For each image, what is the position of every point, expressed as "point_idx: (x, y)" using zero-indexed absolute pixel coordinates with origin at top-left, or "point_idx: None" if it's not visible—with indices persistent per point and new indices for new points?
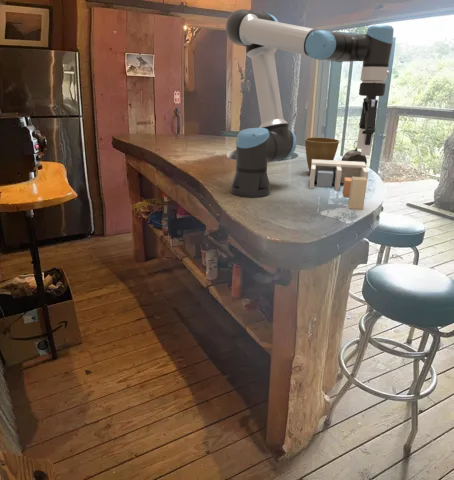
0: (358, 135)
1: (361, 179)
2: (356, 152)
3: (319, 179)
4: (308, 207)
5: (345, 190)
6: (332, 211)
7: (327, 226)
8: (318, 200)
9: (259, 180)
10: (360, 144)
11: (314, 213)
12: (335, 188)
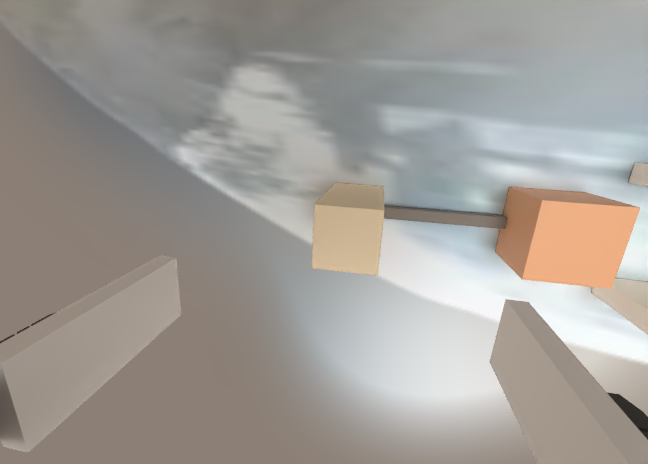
0: (589, 394)
1: (324, 245)
2: None
3: None
4: (317, 15)
5: (519, 196)
6: (285, 115)
7: (128, 84)
8: (432, 65)
9: None
10: (514, 348)
11: (245, 41)
12: (641, 163)
